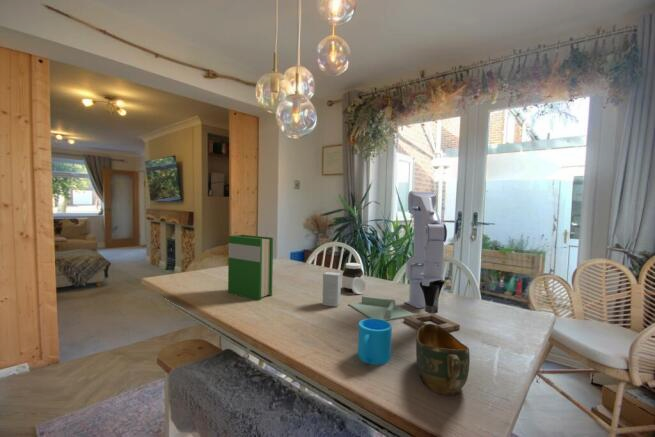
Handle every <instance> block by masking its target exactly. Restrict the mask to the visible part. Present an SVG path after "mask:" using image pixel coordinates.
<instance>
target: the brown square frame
mask: <svg viewBox="0 0 655 437" xmlns="http://www.w3.org/2000/svg"><path fill="white" fill-rule="evenodd" d="M428 321H432V322H434V323H437V324H436V325H437V326H440V327H442V328H444V329H445V330H446V331H448V332H449V333H451V332H454V331H458V330H460V328H461V325H460V324H459V323H456V322H455V321H453V320H450V319H447V318H446V317H443V316H441V315H439V314H438V313H428V312H424V313H420V314H415V315H412V316H406V317H404V318H403V322H404V323H406V324H408V325H410V326H412V327H413V328H416V329H417V330H418V329H419V328H420V327H421V326H422V325H425V324H426V323H425V322H428Z"/></svg>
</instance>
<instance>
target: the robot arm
mask: <svg viewBox="0 0 655 437" xmlns="http://www.w3.org/2000/svg"><path fill="white" fill-rule="evenodd" d="M436 203H437V194H436V192H435V191H414V190H413V191H412V190H410V191H409V192H408V196H407V210H408V214H410V215H412V219H413V256H412V257H410V258H409V259H408V260H407V261H406V267H405V276H406V280H407V281H409V294H408V297H409V298H408V300H404V301H403V302H404V303H405V304H408V305H410V306H411V307H414V308H416V309H421V308H425V303H426V305H428V306H433V305H434V300H435V295H436V292H437V289H438V288H439V296H440V295H441V291H442V288H443V286H444V285H445V284H446V280H444V275H443V270H444V250H445V247H444V246H445V245H444V244H445V242H446V241H447V236H448V229H447V225H446V224H445V223H444V222H442V221H441V219H440V216H439V214H438V212H437V211H436V210H434V209H435V207H436Z"/></svg>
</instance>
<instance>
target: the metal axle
mask: <svg viewBox="0 0 655 437" xmlns="http://www.w3.org/2000/svg"><path fill="white" fill-rule="evenodd" d="M439 298H440V295H439V288H438V289H437V292H436V295H435V300H434V305H433V306H428V305H426V303H425V307H424V311H425V313H434V314H438V313H439V302H440V301H439V300H440V299H439Z"/></svg>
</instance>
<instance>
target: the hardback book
mask: <svg viewBox="0 0 655 437" xmlns="http://www.w3.org/2000/svg"><path fill="white" fill-rule="evenodd" d="M273 258H274V238H273V237H269V236H261V235H260V236H259V235H249V234H235V235H229V236H228V258H227V259H228V265H227V266H228V277H227V280H228V281H227V285H228V286H227V293H228V292H229V293H228V294H231V293H233V294H232V295H235V294H237V295H236V296H239V295H241V296H240V297H243V296H244V298H248V299H253V300H257V301H261V300H262V298H264V297H265V296H267V295H268V297H272V296H273V271H274V270H273V268H274V266H273V265H274V263H273V262H274V261H273V260H274V259H273Z"/></svg>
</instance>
